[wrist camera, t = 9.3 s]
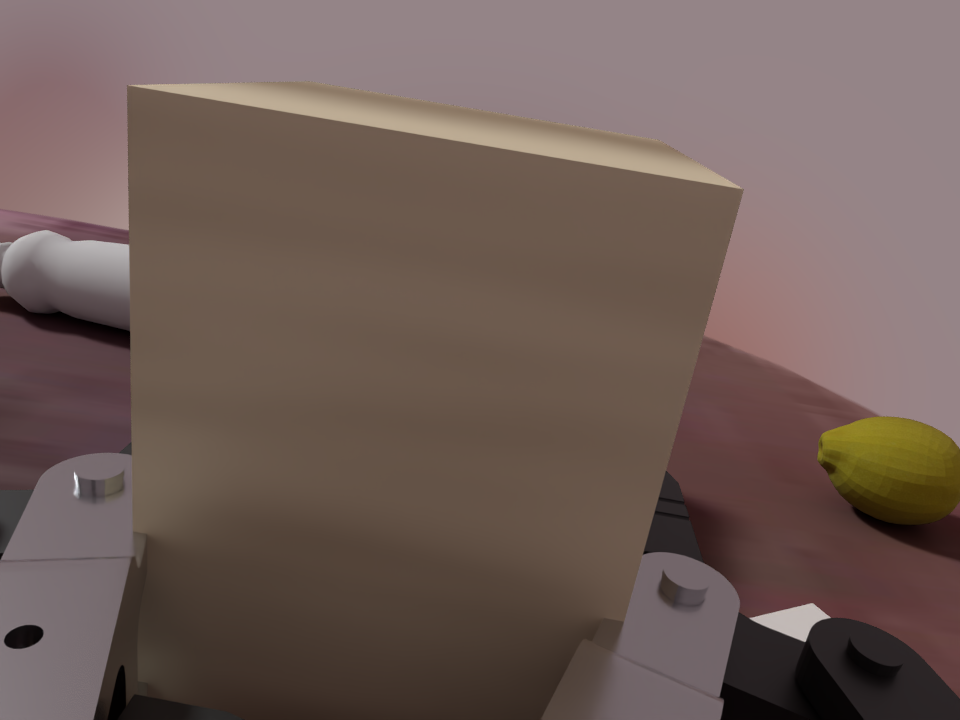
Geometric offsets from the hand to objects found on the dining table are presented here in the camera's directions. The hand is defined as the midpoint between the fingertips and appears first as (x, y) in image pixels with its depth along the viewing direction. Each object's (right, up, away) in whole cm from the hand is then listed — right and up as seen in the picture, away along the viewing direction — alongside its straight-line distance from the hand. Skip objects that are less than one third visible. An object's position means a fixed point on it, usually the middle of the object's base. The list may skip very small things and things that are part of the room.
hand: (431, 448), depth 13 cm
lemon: (+31, -11, +46) cm, 57 cm away
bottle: (-33, +4, +60) cm, 69 cm away
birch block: (-1, -7, 0) cm, 7 cm away
